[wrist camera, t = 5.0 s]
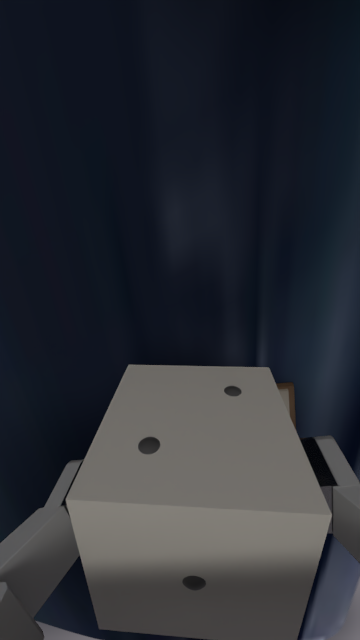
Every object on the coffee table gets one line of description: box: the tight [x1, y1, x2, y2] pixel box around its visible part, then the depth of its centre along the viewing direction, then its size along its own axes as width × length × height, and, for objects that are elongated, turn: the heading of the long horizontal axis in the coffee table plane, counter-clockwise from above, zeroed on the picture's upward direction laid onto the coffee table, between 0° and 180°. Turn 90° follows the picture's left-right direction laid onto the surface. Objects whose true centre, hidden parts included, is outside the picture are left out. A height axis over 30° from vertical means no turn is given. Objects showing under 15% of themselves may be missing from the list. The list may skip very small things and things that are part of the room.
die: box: [66, 365, 332, 640], centre depth 8 cm, size 5×5×5 cm
